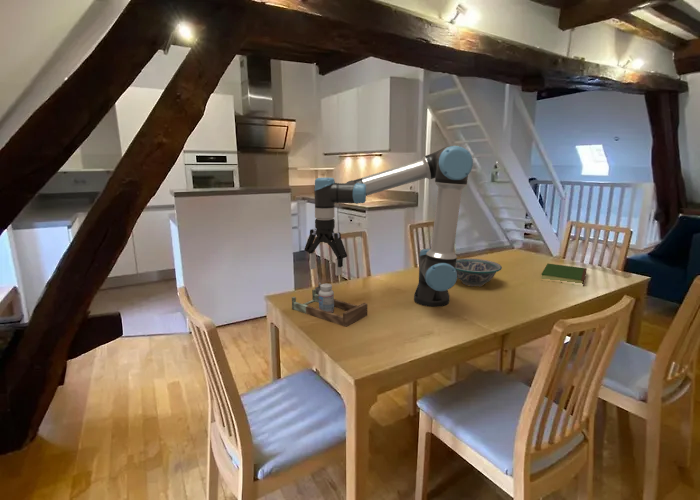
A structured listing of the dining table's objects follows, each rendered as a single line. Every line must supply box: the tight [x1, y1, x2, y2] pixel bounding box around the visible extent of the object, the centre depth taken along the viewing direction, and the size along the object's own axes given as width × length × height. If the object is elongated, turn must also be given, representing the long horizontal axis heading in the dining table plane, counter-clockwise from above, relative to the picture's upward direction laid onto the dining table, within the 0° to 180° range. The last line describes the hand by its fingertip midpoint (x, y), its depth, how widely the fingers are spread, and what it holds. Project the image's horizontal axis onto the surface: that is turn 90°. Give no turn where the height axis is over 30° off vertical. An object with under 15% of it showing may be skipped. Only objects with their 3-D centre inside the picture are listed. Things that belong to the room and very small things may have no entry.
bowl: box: [455, 258, 503, 287], centre depth 195 cm, size 25×25×10 cm
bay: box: [291, 281, 368, 327], centre depth 161 cm, size 30×18×7 cm, turn 52°
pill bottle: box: [318, 283, 335, 313], centre depth 159 cm, size 6×6×11 cm
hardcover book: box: [540, 263, 587, 284], centre depth 205 cm, size 25×19×4 cm
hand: (325, 271), depth 157 cm, fingers open, 13 cm apart
